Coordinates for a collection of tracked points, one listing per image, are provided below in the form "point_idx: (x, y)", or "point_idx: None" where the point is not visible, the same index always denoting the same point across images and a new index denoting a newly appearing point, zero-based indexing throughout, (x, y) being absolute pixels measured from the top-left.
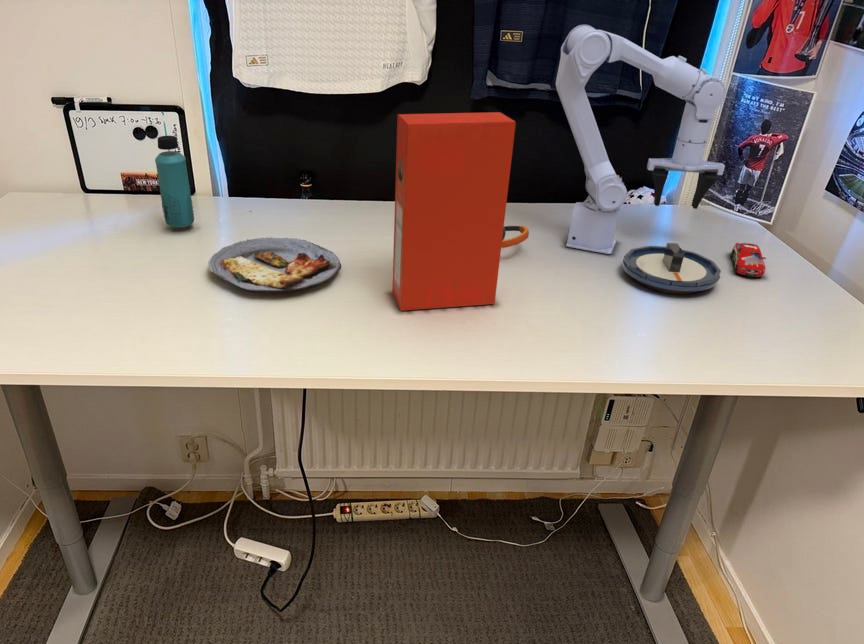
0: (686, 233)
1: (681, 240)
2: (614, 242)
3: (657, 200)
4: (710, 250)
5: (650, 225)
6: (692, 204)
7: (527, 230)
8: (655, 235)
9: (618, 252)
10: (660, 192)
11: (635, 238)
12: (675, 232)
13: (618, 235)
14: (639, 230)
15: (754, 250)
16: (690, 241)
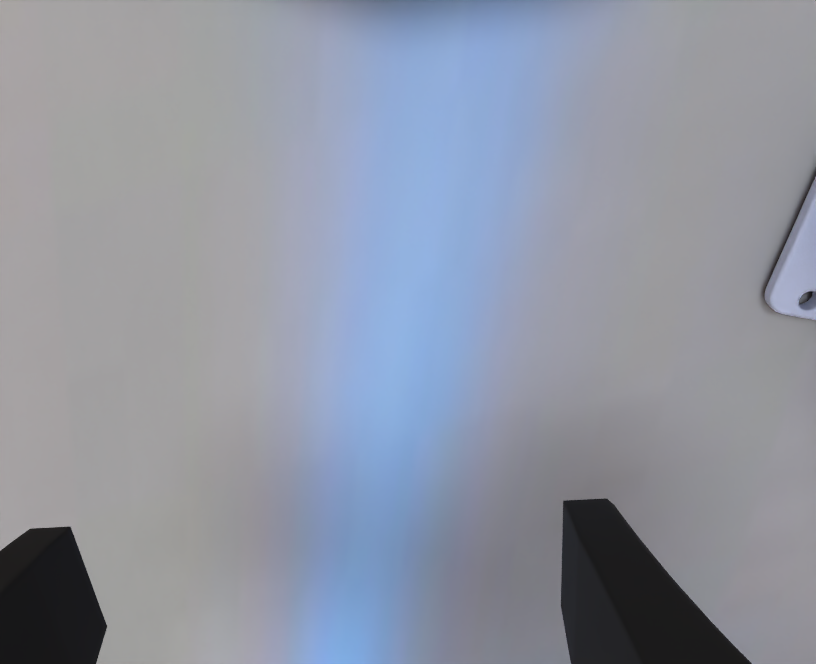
0: (194, 593)
1: (229, 474)
2: (799, 251)
3: (633, 546)
4: (13, 346)
5: (425, 657)
6: (88, 621)
7: None
8: (409, 513)
9: (792, 79)
10: (670, 658)
11: (569, 426)
12: (267, 592)
13: (691, 449)
14: (513, 568)
15: None
16: (165, 472)
